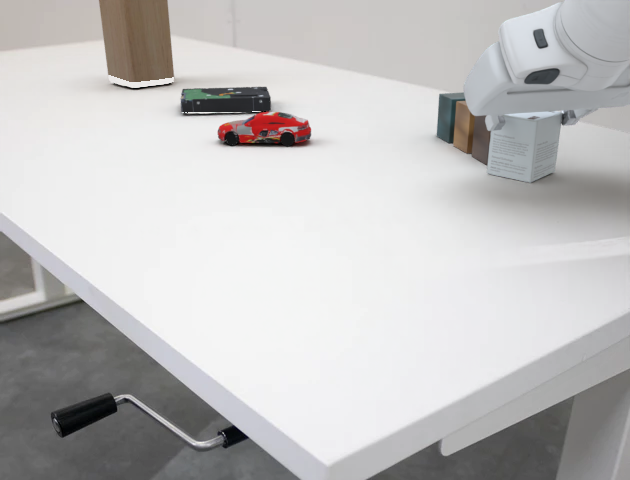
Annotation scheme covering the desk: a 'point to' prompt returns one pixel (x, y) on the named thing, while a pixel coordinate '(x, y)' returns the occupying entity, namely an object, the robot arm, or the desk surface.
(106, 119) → the desk surface
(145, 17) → the block
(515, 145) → the white cardboard box
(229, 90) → the disk drive
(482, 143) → the block row
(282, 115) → the race car
